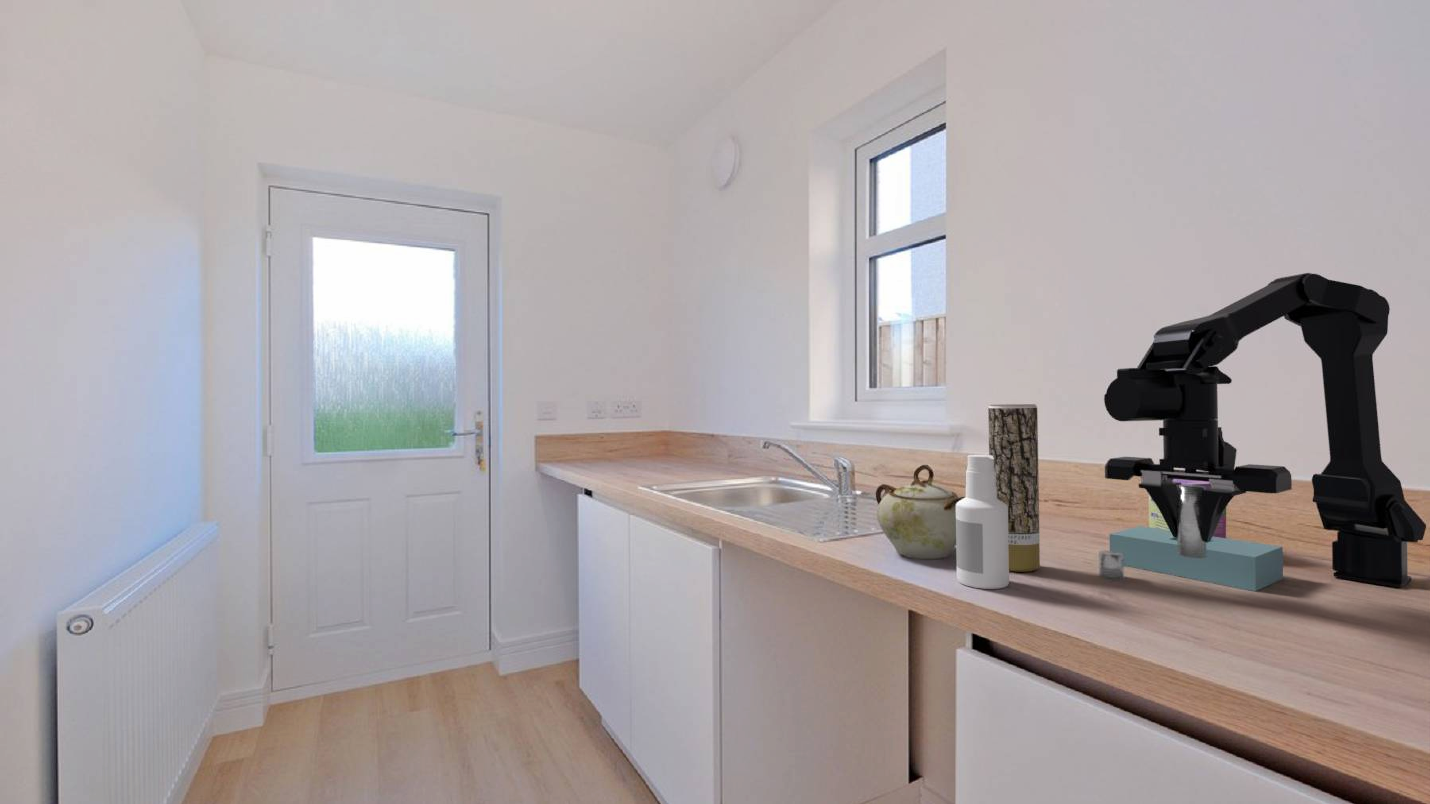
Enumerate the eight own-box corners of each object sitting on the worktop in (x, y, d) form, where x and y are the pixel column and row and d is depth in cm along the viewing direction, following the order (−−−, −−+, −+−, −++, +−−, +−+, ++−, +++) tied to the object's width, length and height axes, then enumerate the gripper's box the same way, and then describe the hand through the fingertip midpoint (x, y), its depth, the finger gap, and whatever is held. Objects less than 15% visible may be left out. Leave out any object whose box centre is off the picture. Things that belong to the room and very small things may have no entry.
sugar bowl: (1003, 557, 102) (1001, 465, 102) (948, 573, 94) (946, 473, 93) (903, 537, 118) (902, 457, 118) (849, 549, 110) (847, 463, 110)
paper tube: (1046, 574, 92) (1043, 404, 92) (996, 572, 94) (994, 405, 93) (1032, 562, 99) (1029, 404, 99) (986, 560, 100) (983, 404, 100)
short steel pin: (1127, 578, 90) (1127, 553, 90) (1117, 581, 88) (1117, 556, 88) (1105, 573, 92) (1105, 549, 92) (1095, 576, 91) (1094, 552, 91)
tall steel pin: (1210, 555, 81) (1209, 486, 81) (1200, 559, 80) (1199, 488, 80) (1183, 551, 84) (1182, 484, 84) (1173, 554, 82) (1172, 486, 82)
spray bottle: (965, 573, 93) (963, 452, 93) (1014, 581, 89) (1012, 454, 89) (950, 584, 88) (947, 456, 88) (1001, 593, 84) (999, 458, 84)
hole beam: (1282, 578, 88) (1282, 546, 88) (1255, 591, 83) (1255, 557, 83) (1140, 553, 103) (1140, 525, 103) (1109, 562, 98) (1109, 533, 98)
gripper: (1306, 419, 78) (1308, 544, 78) (1140, 417, 94) (1141, 521, 94) (1273, 422, 72) (1275, 557, 72) (1102, 419, 88) (1103, 530, 88)
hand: (1191, 539), depth 82 cm, fingers closed on tall steel pin, 3 cm apart
